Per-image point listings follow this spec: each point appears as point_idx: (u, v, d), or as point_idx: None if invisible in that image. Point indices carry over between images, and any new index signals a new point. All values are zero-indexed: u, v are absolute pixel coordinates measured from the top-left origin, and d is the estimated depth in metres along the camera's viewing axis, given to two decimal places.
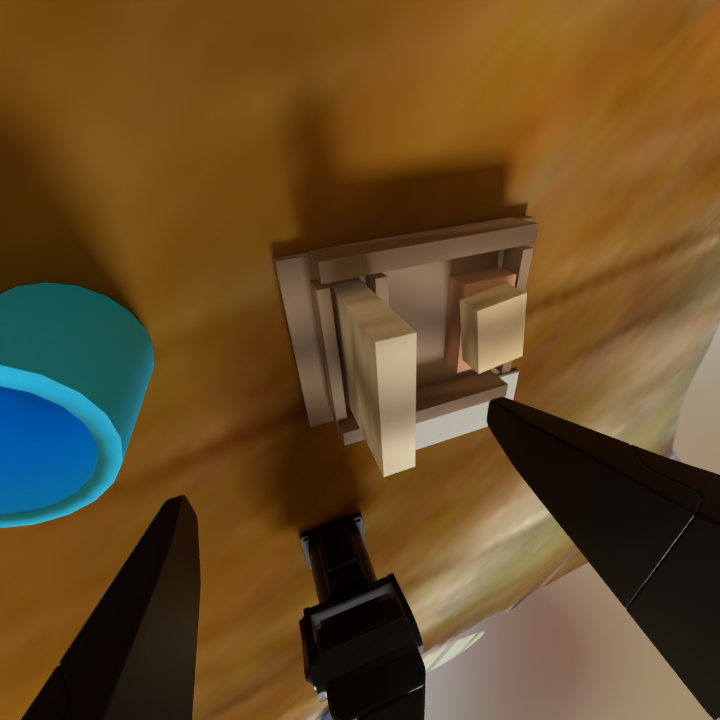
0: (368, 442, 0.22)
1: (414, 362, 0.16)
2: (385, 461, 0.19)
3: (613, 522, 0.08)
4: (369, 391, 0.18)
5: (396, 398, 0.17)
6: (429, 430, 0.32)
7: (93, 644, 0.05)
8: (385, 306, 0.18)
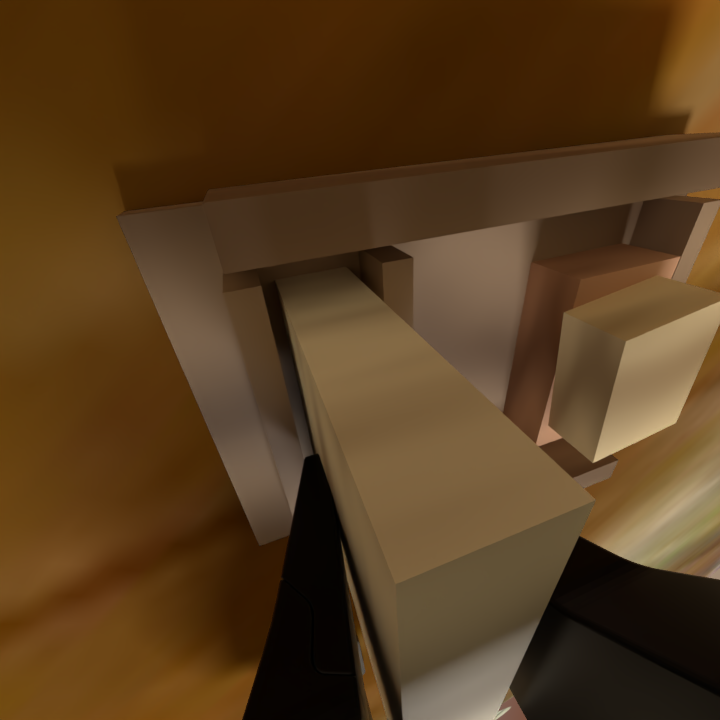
0: (366, 645, 0.09)
1: (549, 588, 0.04)
2: None
3: None
4: (367, 607, 0.06)
5: (464, 679, 0.05)
6: None
7: (306, 563, 0.06)
8: (417, 343, 0.06)
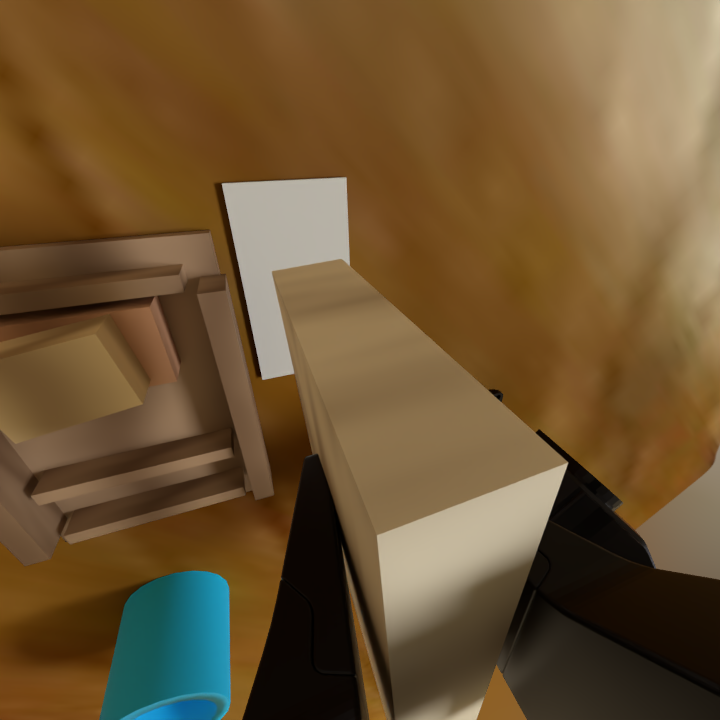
0: (361, 629, 0.10)
1: (530, 554, 0.04)
2: None
3: None
4: (359, 583, 0.06)
5: (452, 647, 0.05)
6: None
7: (306, 563, 0.06)
8: (407, 327, 0.06)
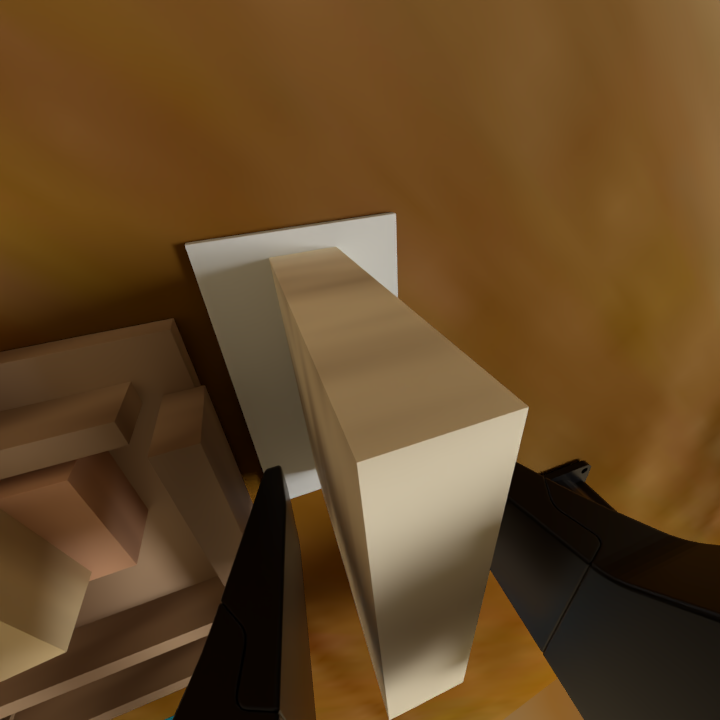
0: (354, 600, 0.10)
1: (501, 500, 0.05)
2: (393, 699, 0.08)
3: (526, 561, 0.07)
4: (349, 542, 0.06)
5: (432, 593, 0.05)
6: None
7: (247, 585, 0.06)
8: (394, 303, 0.06)
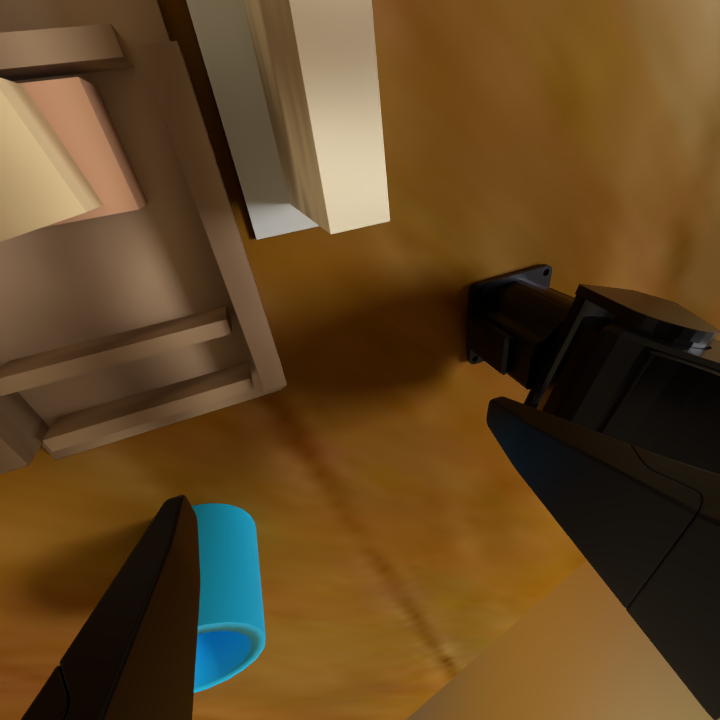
0: (310, 209, 0.12)
1: None
2: (328, 189, 0.10)
3: (613, 522, 0.08)
4: (279, 15, 0.09)
5: None
6: None
7: (93, 644, 0.05)
8: None
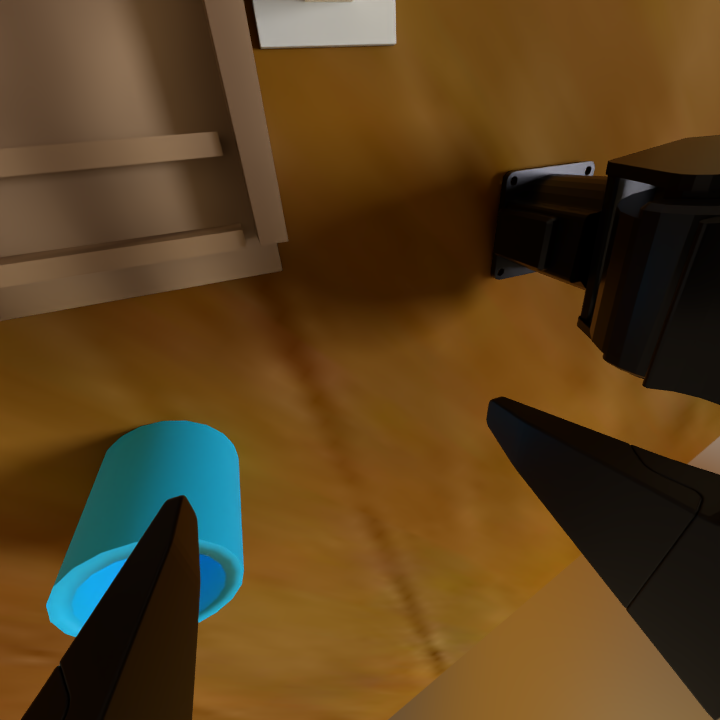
0: None
1: None
2: None
3: (613, 522, 0.08)
4: None
5: None
6: None
7: (93, 644, 0.05)
8: None
